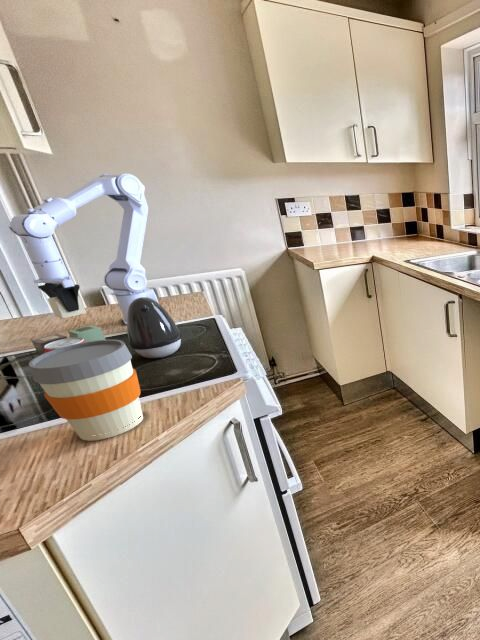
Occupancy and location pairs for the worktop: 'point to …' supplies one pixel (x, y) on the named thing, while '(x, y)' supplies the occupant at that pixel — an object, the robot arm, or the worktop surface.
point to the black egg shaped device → (151, 329)
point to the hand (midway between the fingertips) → (69, 309)
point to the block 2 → (46, 342)
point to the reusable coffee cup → (91, 387)
